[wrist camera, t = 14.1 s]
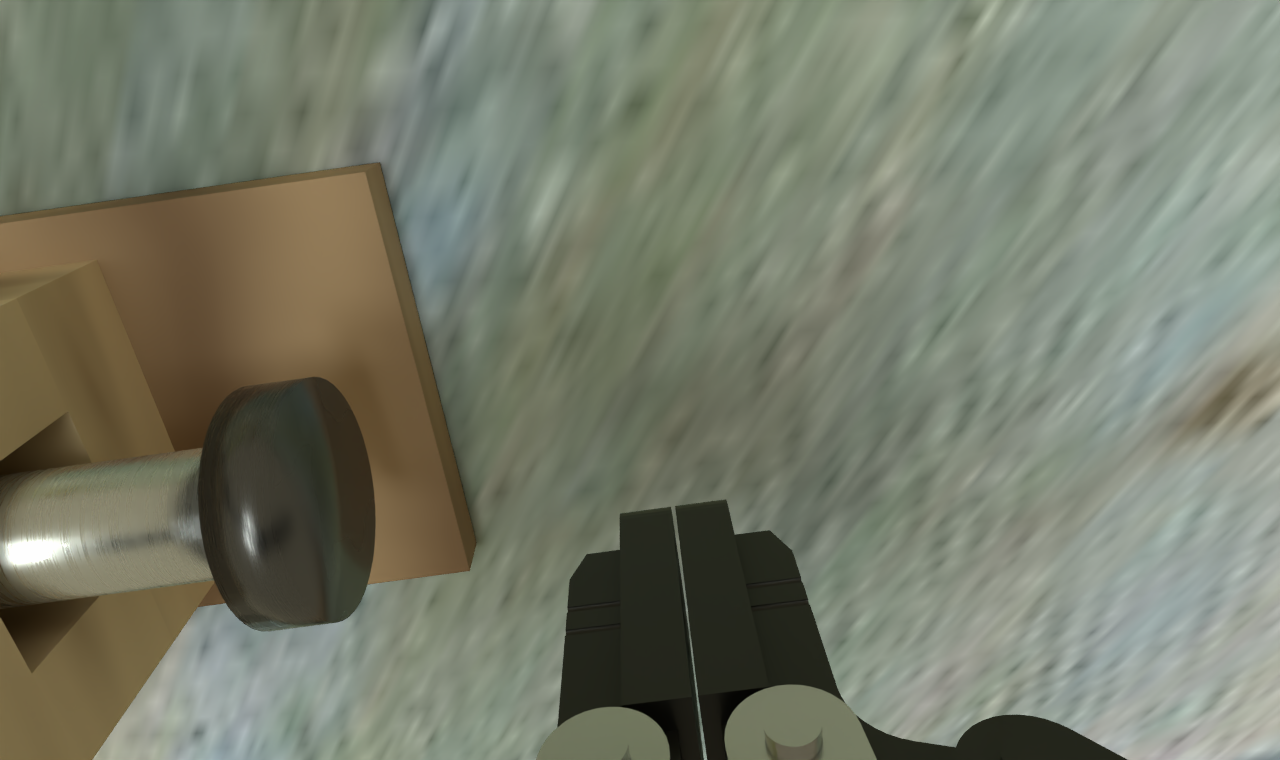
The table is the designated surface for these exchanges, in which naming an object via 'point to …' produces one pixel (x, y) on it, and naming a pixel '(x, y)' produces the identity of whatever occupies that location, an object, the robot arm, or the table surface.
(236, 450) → the shaft
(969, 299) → the table surface
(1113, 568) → the table surface
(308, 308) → the shaft bench
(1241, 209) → the table surface
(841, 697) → the robot arm
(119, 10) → the table surface
